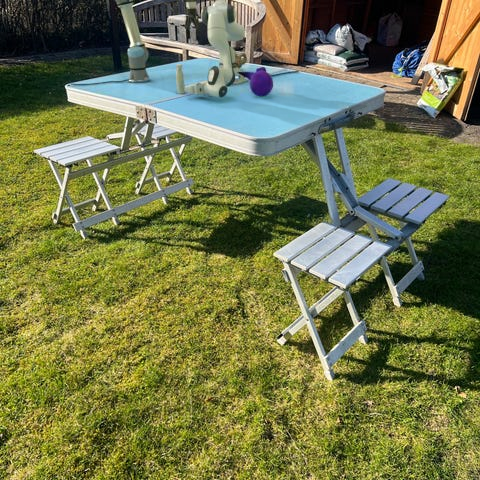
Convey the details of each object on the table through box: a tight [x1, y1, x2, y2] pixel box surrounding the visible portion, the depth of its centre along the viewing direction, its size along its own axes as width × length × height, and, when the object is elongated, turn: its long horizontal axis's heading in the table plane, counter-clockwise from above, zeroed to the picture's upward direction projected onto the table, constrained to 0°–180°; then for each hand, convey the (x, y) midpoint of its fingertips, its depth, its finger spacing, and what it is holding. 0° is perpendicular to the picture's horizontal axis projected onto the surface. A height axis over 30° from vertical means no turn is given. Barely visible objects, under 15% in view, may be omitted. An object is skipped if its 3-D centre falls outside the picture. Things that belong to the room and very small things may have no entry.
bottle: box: [175, 69, 186, 95], centre depth 298 cm, size 5×5×18 cm
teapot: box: [235, 51, 248, 70], centre depth 367 cm, size 21×12×15 cm, turn 120°
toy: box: [237, 66, 274, 97], centre depth 289 cm, size 16×18×27 cm
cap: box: [175, 63, 183, 70], centre depth 294 cm, size 4×4×2 cm
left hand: (193, 39), depth 338 cm, fingers open, 13 cm apart
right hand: (192, 85), depth 291 cm, fingers open, 8 cm apart
